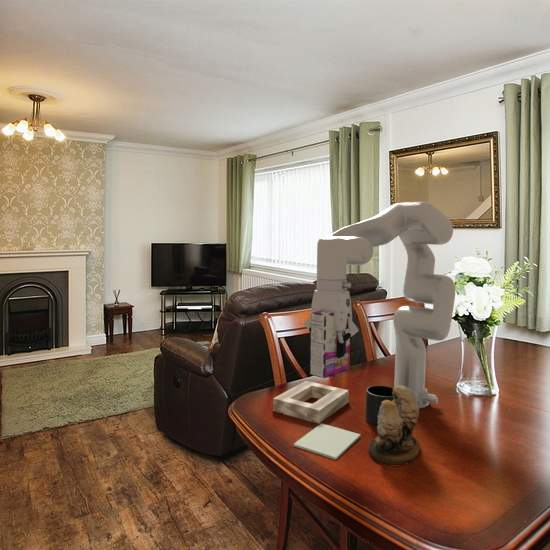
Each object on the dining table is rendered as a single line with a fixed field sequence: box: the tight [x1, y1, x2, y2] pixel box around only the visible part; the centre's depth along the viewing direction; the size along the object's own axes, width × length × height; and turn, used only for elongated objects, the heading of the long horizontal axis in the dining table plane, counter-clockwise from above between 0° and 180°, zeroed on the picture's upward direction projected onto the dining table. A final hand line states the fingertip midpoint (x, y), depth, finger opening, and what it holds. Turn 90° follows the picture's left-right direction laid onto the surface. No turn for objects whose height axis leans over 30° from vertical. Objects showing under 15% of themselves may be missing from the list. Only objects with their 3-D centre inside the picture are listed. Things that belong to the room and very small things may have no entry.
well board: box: [272, 380, 350, 425], centre depth 139 cm, size 16×20×4 cm
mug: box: [365, 385, 394, 427], centre depth 130 cm, size 9×12×9 cm
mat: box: [293, 422, 361, 460], centre depth 116 cm, size 12×15×1 cm
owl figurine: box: [368, 385, 421, 466], centre depth 111 cm, size 18×12×17 cm, turn 147°
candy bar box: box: [309, 311, 351, 379], centre depth 114 cm, size 11×5×16 cm, turn 136°
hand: (329, 354), depth 114 cm, fingers closed on candy bar box, 5 cm apart
